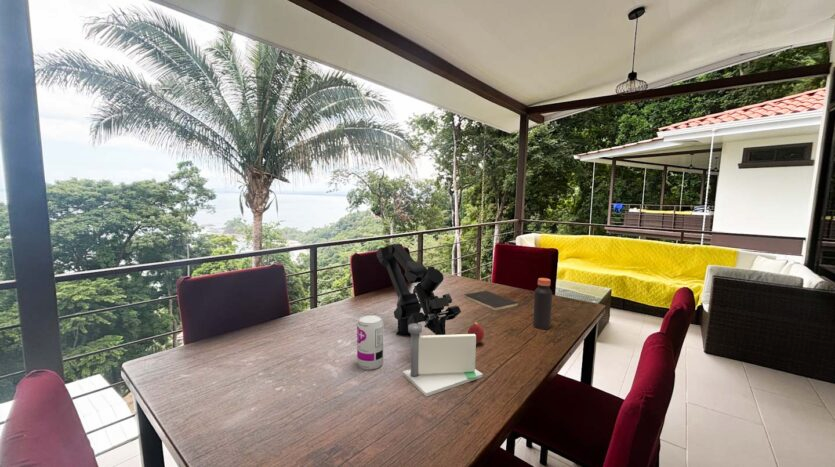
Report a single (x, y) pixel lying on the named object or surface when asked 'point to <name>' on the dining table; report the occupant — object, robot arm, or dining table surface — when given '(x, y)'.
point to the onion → (476, 332)
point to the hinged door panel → (441, 352)
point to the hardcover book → (491, 300)
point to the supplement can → (370, 342)
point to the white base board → (440, 380)
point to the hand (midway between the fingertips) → (444, 340)
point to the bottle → (542, 304)
